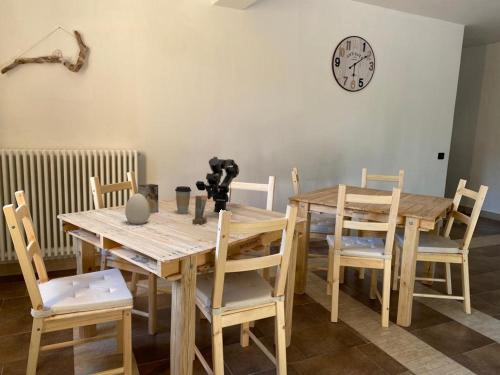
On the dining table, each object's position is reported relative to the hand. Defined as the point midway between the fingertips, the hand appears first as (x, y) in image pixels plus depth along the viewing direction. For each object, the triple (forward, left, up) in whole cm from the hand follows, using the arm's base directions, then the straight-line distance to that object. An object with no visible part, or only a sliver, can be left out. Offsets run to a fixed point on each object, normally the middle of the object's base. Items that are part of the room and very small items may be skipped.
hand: (208, 198), depth 208 cm
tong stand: (+10, +6, -11) cm, 16 cm away
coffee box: (+19, -31, -11) cm, 38 cm away
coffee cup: (+3, -20, -11) cm, 23 cm away
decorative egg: (+35, -13, -11) cm, 39 cm away
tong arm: (+10, +6, -9) cm, 15 cm away
